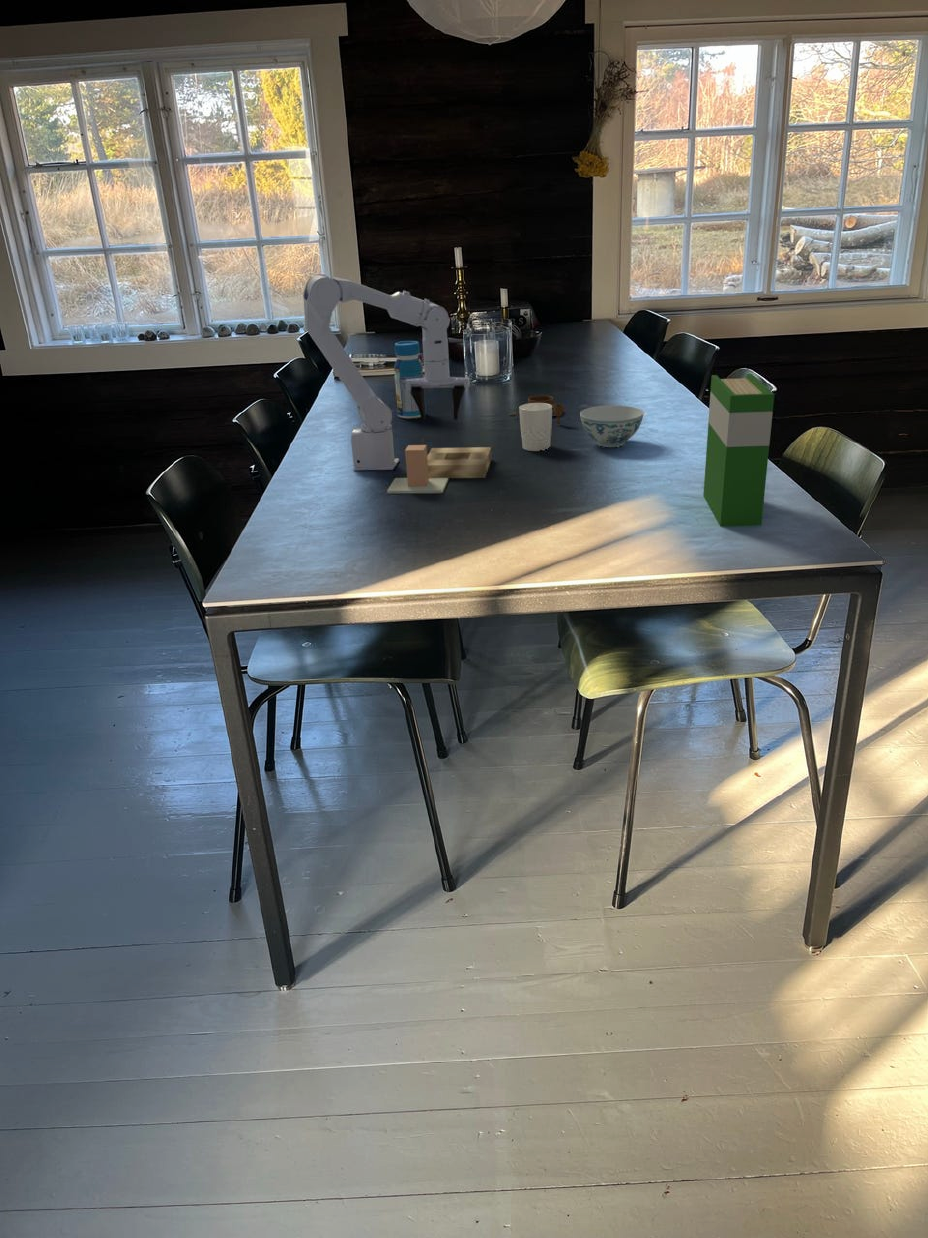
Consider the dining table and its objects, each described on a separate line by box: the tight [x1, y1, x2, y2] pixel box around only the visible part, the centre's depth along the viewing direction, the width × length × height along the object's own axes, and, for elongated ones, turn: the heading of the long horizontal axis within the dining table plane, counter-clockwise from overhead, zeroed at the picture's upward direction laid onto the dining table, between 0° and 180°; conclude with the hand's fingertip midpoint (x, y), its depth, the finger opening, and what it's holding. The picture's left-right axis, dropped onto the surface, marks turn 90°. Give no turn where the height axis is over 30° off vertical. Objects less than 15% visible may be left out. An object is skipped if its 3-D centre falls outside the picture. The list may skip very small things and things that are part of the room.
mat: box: [386, 477, 449, 494], centre depth 199 cm, size 12×9×1 cm
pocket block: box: [427, 446, 492, 479], centre depth 209 cm, size 14×14×3 cm
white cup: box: [518, 403, 553, 452], centre depth 220 cm, size 8×8×10 cm
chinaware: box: [579, 405, 645, 448], centre depth 220 cm, size 15×15×8 cm
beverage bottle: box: [393, 340, 427, 419], centre depth 254 cm, size 8×8×20 cm
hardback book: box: [703, 373, 775, 527], centre depth 171 cm, size 18×7×24 cm, turn 177°
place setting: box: [508, 395, 564, 425], centre depth 249 cm, size 18×20×6 cm
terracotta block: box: [404, 444, 429, 487], centre depth 197 cm, size 4×4×8 cm
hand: (439, 418), depth 214 cm, fingers open, 7 cm apart
